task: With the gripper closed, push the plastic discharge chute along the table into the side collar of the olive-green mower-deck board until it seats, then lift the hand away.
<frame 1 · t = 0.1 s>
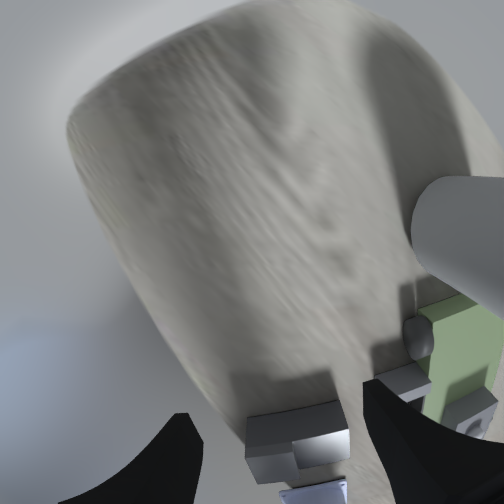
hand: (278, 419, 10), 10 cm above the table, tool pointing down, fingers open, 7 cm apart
chute: (299, 444, 20), point 2 cm above the table, slide at 7.0 cm
deck: (451, 376, 21), on the table
can: (443, 225, 19), on the table
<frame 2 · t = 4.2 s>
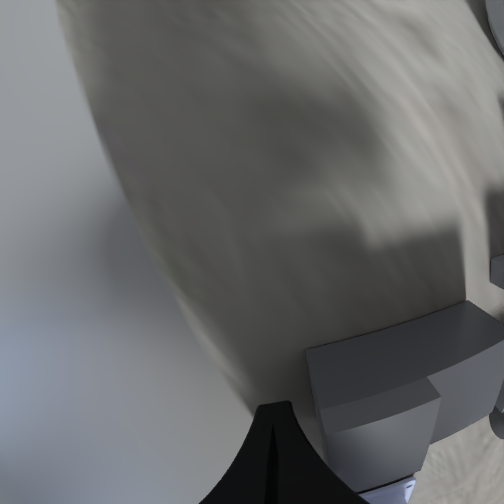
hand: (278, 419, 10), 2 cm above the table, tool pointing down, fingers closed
chute: (416, 396, 9), point 2 cm above the table, slide at 5.5 cm, touching gripper
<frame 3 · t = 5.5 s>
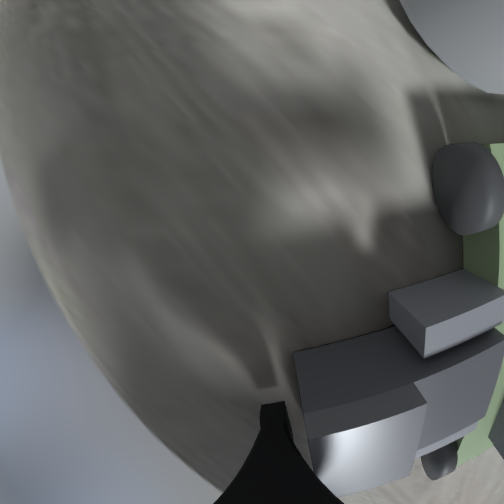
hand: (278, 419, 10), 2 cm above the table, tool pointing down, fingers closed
chute: (405, 401, 9), point 2 cm above the table, slide at 0.0 cm, touching deck, gripper
can: (454, 29, 8), on the table
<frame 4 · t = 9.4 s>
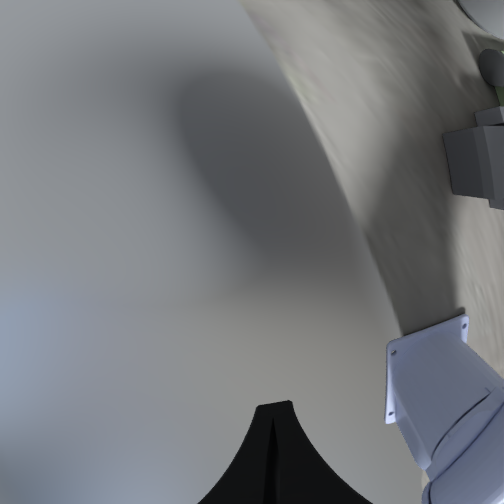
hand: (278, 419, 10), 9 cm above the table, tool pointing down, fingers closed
chute: (502, 159, 14), point 2 cm above the table, slide at 0.0 cm, touching deck
can: (477, 9, 13), on the table
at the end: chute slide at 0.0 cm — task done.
